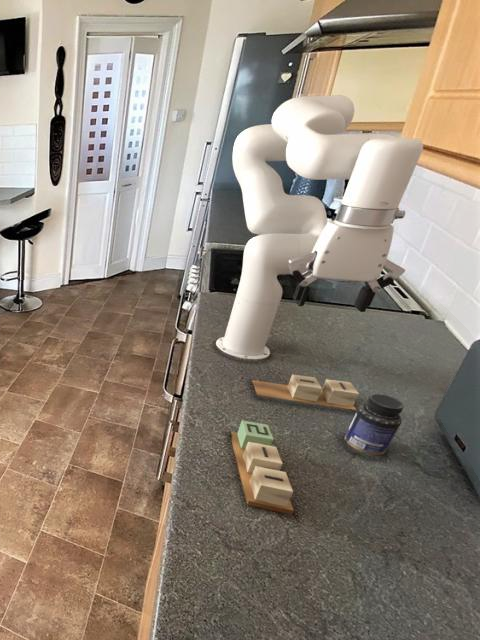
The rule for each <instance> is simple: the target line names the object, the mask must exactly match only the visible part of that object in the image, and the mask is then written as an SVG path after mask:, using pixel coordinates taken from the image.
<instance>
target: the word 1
mask: <svg viewBox="0 0 480 640" xmlns="http://www.w3.org/2000/svg"><path fill="white" fill-rule="evenodd" d="M230 432H231V434H229V436H230V441H231V445H232V449H233V453H234V457H235V461H236V466H237V469H238V474H239V477H240V481H241V485H242V489H243V493H244V497H245V501H246V504H247V506H249V507H250V506H251V507H256V508H260V509H264V510H269V511H273V512H277V513H282V514H287V515H290V516H292V515H293V514H294V512H295V511H294V507H293V505H292V501H291V498H292V495H293V494H294V490H293V488H292V484H291V482H290V480H289V477H288V475H287V472H286V471H283V470H281V469H282V466H283V461H282V458H281V455H280V453H279V450H278V447H277V446H273V445H271V446H269V445H264V444H258V443H253V442H248V443H247V446H246V449H241V446H240V443H239V439H238V435H237V433H238V432H235V431H230Z"/></svg>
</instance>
